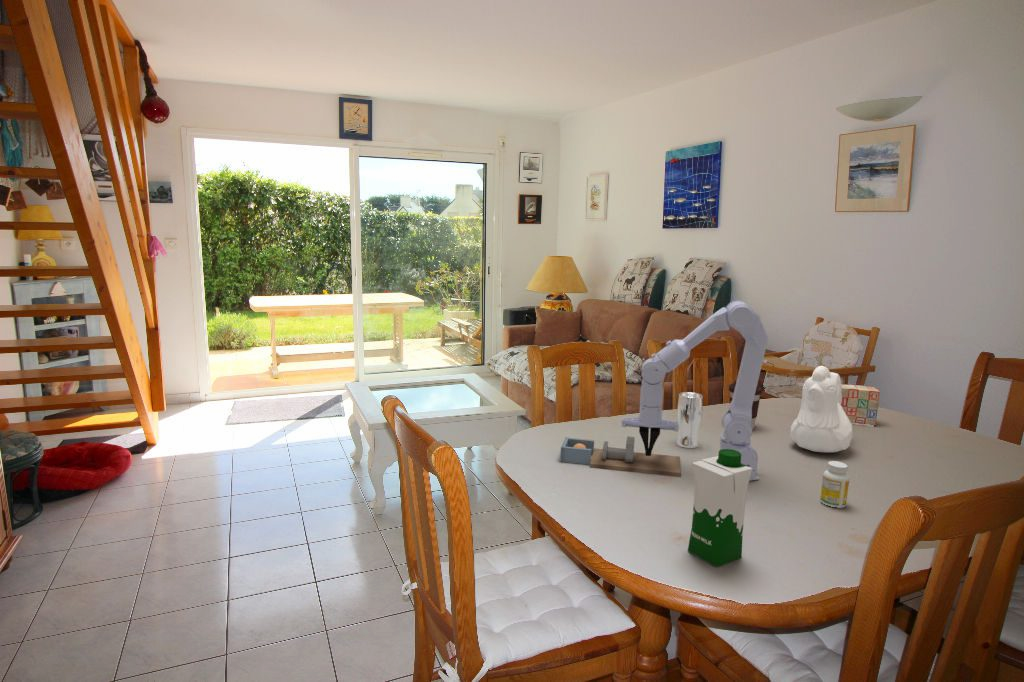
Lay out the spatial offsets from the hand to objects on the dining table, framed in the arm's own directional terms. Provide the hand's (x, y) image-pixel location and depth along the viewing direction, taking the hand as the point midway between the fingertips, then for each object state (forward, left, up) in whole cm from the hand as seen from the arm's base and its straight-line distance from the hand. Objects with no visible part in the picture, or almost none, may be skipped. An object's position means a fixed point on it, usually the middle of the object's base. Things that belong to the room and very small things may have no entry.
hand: (648, 454), depth 162 cm
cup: (+9, +16, -3) cm, 18 cm away
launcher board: (+2, +3, -3) cm, 4 cm away
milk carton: (-45, +9, -3) cm, 46 cm away
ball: (+9, +16, -1) cm, 18 cm away
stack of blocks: (+23, -81, -3) cm, 85 cm away
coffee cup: (+23, -45, -3) cm, 50 cm away
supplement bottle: (-31, -31, -3) cm, 44 cm away
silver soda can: (+12, -19, -3) cm, 23 cm away
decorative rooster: (+2, -58, -3) cm, 58 cm away
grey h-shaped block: (+4, +7, -2) cm, 8 cm away
